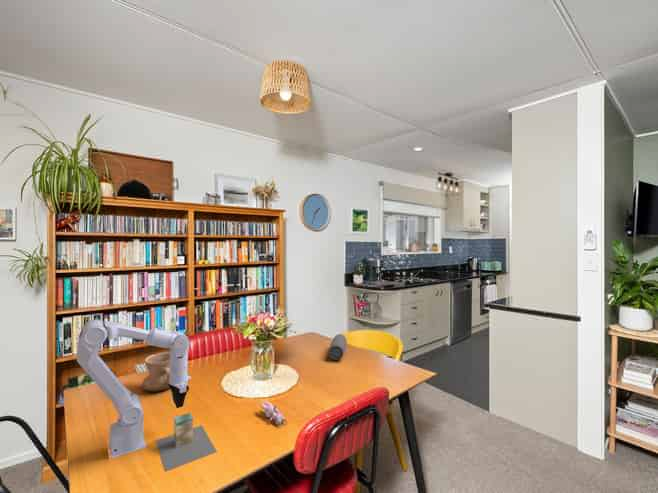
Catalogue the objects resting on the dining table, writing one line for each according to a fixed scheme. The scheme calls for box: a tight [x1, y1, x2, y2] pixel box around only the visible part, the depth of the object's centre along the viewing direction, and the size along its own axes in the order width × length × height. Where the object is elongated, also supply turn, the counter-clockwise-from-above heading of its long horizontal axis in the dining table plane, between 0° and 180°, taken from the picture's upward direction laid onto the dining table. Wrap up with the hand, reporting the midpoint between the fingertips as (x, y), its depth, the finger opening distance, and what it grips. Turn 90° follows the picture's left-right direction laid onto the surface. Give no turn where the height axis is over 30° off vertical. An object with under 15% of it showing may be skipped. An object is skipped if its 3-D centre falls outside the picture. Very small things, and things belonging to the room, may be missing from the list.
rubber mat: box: [155, 425, 218, 473], centre depth 103 cm, size 15×18×1 cm
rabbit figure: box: [260, 401, 288, 427], centre depth 121 cm, size 6×6×15 cm
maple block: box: [173, 412, 194, 447], centre depth 105 cm, size 5×4×8 cm
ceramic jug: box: [141, 352, 170, 392], centre depth 145 cm, size 18×14×14 cm
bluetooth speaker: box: [328, 333, 348, 361], centre depth 190 cm, size 23×9×10 cm, turn 172°
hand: (178, 405), depth 112 cm, fingers open, 3 cm apart
